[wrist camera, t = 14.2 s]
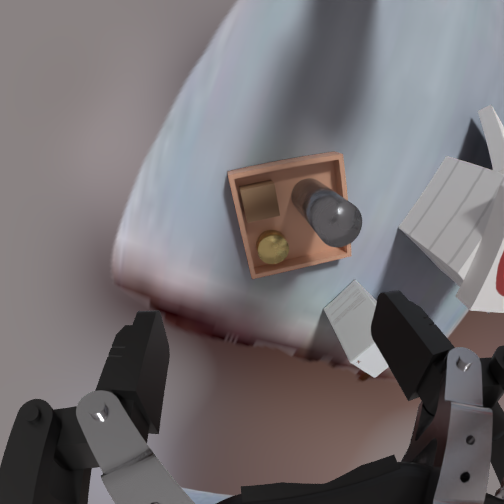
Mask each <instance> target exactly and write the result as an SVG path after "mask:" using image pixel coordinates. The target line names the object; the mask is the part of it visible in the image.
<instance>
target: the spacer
mask: <svg viewBox="0 0 504 504" xmlns="http://www.w3.org/2000/svg"><path fill="white" fill-rule="evenodd" d="M291 198H292V202H293V204H294V206H295V207H296V209H297V210H298V211H299V212H300V213H301V215H302V216H303V217H304V218H305V220H306V221H307V222H308V223H309V225H310V226H311V227H312V228H313V230H314V231H315V232H316V234H317V235H318V236H319V237H320V239H321V240H322V241H323V242H324V243H325V244H327V245H328V246H331V247H343V246H346V245H348V244H350V243H351V242H353V241H354V240H355V239H356V237H357V236H358V234H359V233H360V230H361V227H362V217H361V213H360V211H359V210H358V208H357V207H356V206H354V205H353V204H352V203H350V202H349V201H347V200H346V199H345V198H343V197H342V196H340V195H339V194H337V193H336V192H334V191H333V190H331V189H330V188H328V187H327V186H325V185H324V184H322V183H321V182H319V181H318V180H316V179H313V178H306V179H303V180H301V181H299V182H298V183H297V184H296V185H295V186H294V188H293V190H292V194H291Z"/></svg>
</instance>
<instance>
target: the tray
mask: <svg viewBox="0 0 504 504" xmlns="http://www.w3.org/2000/svg"><path fill="white" fill-rule="evenodd" d="M228 178H229V183H230V187H231V191H232V196H233V200H234V204H235V209H236V213H237V217H238V222H239V226H240V230H241V235H242V239H243V243H244V247H245V252H246V256H247V260H248V265H249V269H250V273H251V277H252V279H255V278H260V277H264V276H269V275H273V274H278V273H282V272H286V271H291V270H295V269H299V268H304V267H308V266H312V265H316V264H321V263H325V262H329V261H333V260H337V259H341V258H345V257H349V256H351V243H350V244H348V245H346V246H343V247H331V246H328V245H327V244H325V243H324V242H323V241H322V240H321V239H320V237H319V236H318V235H317V234H316V232H315V231H314V230H313V228H312V227H311V226H310V225H309V223H308V222H307V221H306V220H305V218H304V217H303V216H302V215H301V213H300V212H299V211H298V210H297V209H296V207H295V206H294V204H293V202H292V198H291V194H292V190H293V188H294V186H295V185H296V184H297V183H298V182H299V181H301V180H303V179H306V178H313V179H316V180H318V181H319V182H321V183H322V184H324V185H325V186H327V187H328V188H330V189H331V190H333V191H334V192H336V193H337V194H339V195H340V196H342V197H343V198H345V199H346V200H347V201H348V197H347V186H346V177H345V168H344V160H343V154H341V153H337V152H327V153H320V154H314V155H308V156H302V157H296V158H290V159H285V160H279V161H274V162H269V163H264V164H259V165H254V166H249V167H244V168H240V169H235V170H231V171H228ZM266 180H272V181H273V182H274V184H275V189H276V195H277V201H278V206H279V212H280V216H276V217H272V218H267V219H262V220H258V221H253V222H249V223H247V219H246V215H245V211H244V206H243V201H242V197H241V192H240V188H239V186H243V185H247V184H252V183H257V182H261V181H266ZM267 230H277V231H279V232H281V233H282V234H283V235H284V237H285V239H286V241H287V243H288V245H289V253H288V255H287V257H286V258H285V259H284V260H283V261H282V262H280V263H277V264H267V263H265V262H263V261H262V260H261V259H260V257H259V255H258V251H257V247H256V242H257V239H258V237H259V236H260V235H261V234H262V233H263V232H265V231H267Z"/></svg>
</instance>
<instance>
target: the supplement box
mask: <svg viewBox="0 0 504 504" xmlns="http://www.w3.org/2000/svg"><path fill="white" fill-rule="evenodd" d="M376 303H377V301H376V300H375V299H374V298H373V297H372V296H371V295H370V294H369V293H368V292H367V291H366V290H365V289H364V288H363V287H362V286H361V285H360V284H359V283H358V282H357V281H356V280H354V281H353V282H352V283H351V284H350V285H349V286H348V287H346V288H345V289H344V290H343V291H342V292H341V293H340V294H339V295H338V296H337V297H336V298H335V299H334V300H333V301H332V302H330V303H329V304H328V305H327V306H326V307H325V308H324V312H325V313H326V315H327V317H328V319H329V321H330V323H331V325H332V327H333V329H334V331H335V333H336V335H337V337H338V339H339V341H340V343H341V346H342V348H343V350H344V352H345V354H346V356H347V358H348V360H349V362H350V363H352V364H353V365H355V366H357V367H358V368H360V369H361V370H363V371H365V372H366V373H368V374H369V375H371V376H373V377H374V378H375V377H377V376H378V375H379V374H380V373H382V372H383V371H384V370H385V369H386V368H388V367H389V366H388V364H387V363H386V361H385V359H384V357H383V356H382V354H381V352H380V351H379V349H378V347H377V346H376V344H375V342H374V341H373V339H372V336H371V323H372V319H373V315H374V312H375V308H376Z"/></svg>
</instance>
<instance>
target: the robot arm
mask: <svg viewBox="0 0 504 504" xmlns="http://www.w3.org/2000/svg"><path fill="white" fill-rule="evenodd" d="M371 336H372V339H373V341H374V342H375V344H376V346H377V347H378V349H379V351H380V352H381V354H382V356H383V357H384V359H385V361H386V363H387V364H388V366H389V368H390V369H391V371H392V373H393V375H394V376H395V378H396V380H397V382H398V383H399V385H400V387H401V389H402V390H403V392H404V394H405V396H406V398H407V399H408V401H410V400H413V399H415V398H418V397H420V399H421V400H422V401H421V403H420V404H419V407H418V412H417V416H416V421H415V425H414V429H413V433H412V437H411V441H410V444H409V447H408V449H407V452H406V453H405V455H404V457H403V459H402V461H401V462H397V461H396V458H395V456H394V455H392V456H389V457H386V458H383V459H380V460H377V461H374V462H371V463H368V464H365V465H361V466H359V467H357V468H356V469H354V470H352V471H350V472H348V473H346V474H344V475H342V476H341V477H339V478H337V479H335V480H332V481H330V482H328V483H325V484H300V483H274V484H265V485H255V486H241V494H239V495H235V496H232V497H230V498H227V499H224V500H222V501H220V502H218V503H216V504H504V412H503V410H502V408H501V407H500V405H499V403H498V400H499V399H500V398H501V396H502V395H503V394H504V346H500V347H498V348H497V349H496V351H495V353H494V355H493V356H492V358H478V356H477V355H476V354H475V353H474V352H472V351H471V350H469V349H467V348H462V347H458V348H455V347H454V346H453V345H452V344H451V342H450V341H449V340H448V339H447V338H446V336H445V335H444V334H443V333H442V332H441V330H440V329H439V328H438V327H437V326H436V325H434V322H433V321H432V320H431V319H430V318H428V315H427V314H426V313H425V312H424V311H423V309H422V308H421V307H419V306H417V305H416V304H414V303H413V302H411V301H408V299H407V298H406V297H405V296H404V295H403V294H402V293H401V292H400V291H391V292H384V293H380V294H379V296H378V299H377V303H376V308H375V312H374V315H373V319H372V323H371ZM169 355H170V354H169V344H168V341H167V336H166V332H165V329H164V325H163V321H162V317H161V313H160V312H159V311H138V312H137V314H136V317H135V320H134V322H133V325H125V326H124V327H123V328H122V329H121V330H120V331H119V332H118V333H117V335H116V337H115V339H114V342H113V344H112V348H111V350H110V352H109V357H107V360H106V363H105V365H104V368H103V371H102V374H101V376H100V379H99V382H98V385H97V388H96V390H95V391H93V392H90V393H88V394H87V395H85V396H84V397H83V398H82V399H81V400H80V401H79V403H78V405H77V406H76V407H70V408H63V409H56V410H53V409H52V408H51V406H50V405H49V404H48V403H47V402H46V401H44V400H41V399H33V400H30V401H28V402H26V403H25V404H24V405H23V406H22V407H21V408H20V410H19V412H18V414H17V417H16V419H15V422H14V425H13V428H12V430H11V433H10V436H9V440H8V443H7V446H6V449H5V452H4V456H3V459H2V463H1V467H0V504H87V503H88V492H89V484H90V476H91V469H92V468H95V467H100V468H101V469H102V472H103V475H101V478H102V481H103V483H104V485H105V487H106V489H107V491H108V492H109V494H110V496H111V497H112V499H113V501H114V502H115V504H195V503H194V502H193V501H192V500H191V499H190V497H189V496H188V495H187V494H186V493H185V492H184V491H183V489H182V488H181V487H180V486H179V485H178V484H177V482H176V481H175V480H174V479H173V478H172V476H171V475H170V474H169V473H168V471H167V470H166V469H165V468H164V466H163V465H162V464H161V462H160V461H159V460H158V459H157V457H156V456H155V454H154V453H153V452H152V450H151V449H150V448H149V446H148V445H147V439H148V433H151V434H159V428H160V418H161V412H162V404H163V397H164V390H165V383H166V377H167V370H168V364H169ZM490 462H491V464H492V466H493V468H494V470H495V473H496V475H497V477H498V480H499V482H500V484H501V487H500V488H499V489H498V490H497V491H496V493H495V496H493V495H490V494H488V493H486V489H487V483H488V477H489V469H490Z"/></svg>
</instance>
